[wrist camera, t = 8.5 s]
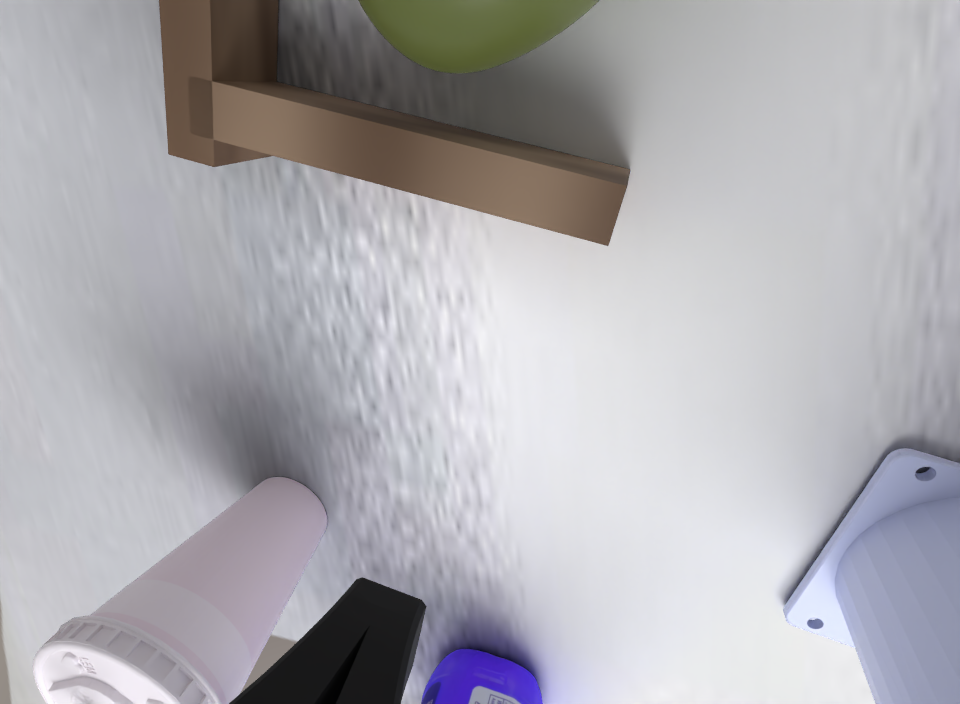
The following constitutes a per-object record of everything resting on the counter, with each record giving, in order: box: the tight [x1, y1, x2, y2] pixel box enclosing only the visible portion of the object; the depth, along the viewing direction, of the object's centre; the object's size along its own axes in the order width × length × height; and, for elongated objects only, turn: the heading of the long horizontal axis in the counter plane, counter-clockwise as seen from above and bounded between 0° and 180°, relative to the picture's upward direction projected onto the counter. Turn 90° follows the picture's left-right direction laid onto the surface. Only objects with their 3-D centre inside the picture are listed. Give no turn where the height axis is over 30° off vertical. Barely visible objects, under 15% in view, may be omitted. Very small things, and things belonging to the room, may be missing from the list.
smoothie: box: [33, 477, 327, 704], centre depth 20 cm, size 6×6×14 cm
